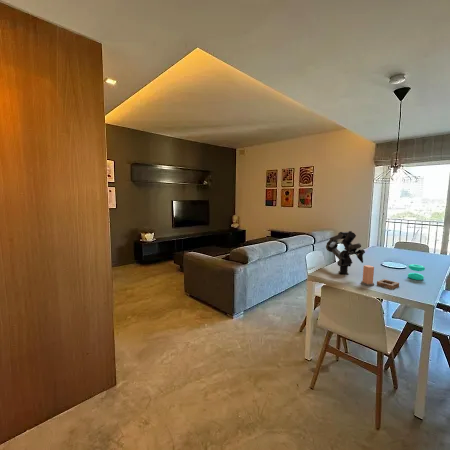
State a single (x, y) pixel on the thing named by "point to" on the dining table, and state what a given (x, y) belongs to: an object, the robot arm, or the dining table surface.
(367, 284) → the pad
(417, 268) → the donuts
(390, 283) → the socket plate
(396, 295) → the dining table surface
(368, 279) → the peg
